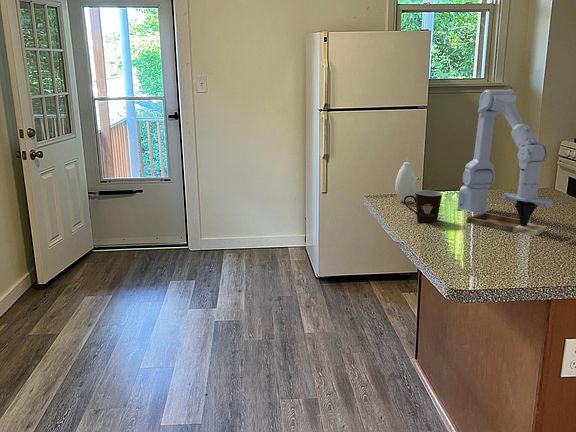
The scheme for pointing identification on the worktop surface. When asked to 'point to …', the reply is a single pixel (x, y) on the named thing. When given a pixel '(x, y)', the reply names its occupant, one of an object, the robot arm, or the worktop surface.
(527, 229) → the beige rectangular block
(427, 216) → the coffee mug
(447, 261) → the worktop surface
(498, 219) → the walnut box
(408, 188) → the sauce bottle
